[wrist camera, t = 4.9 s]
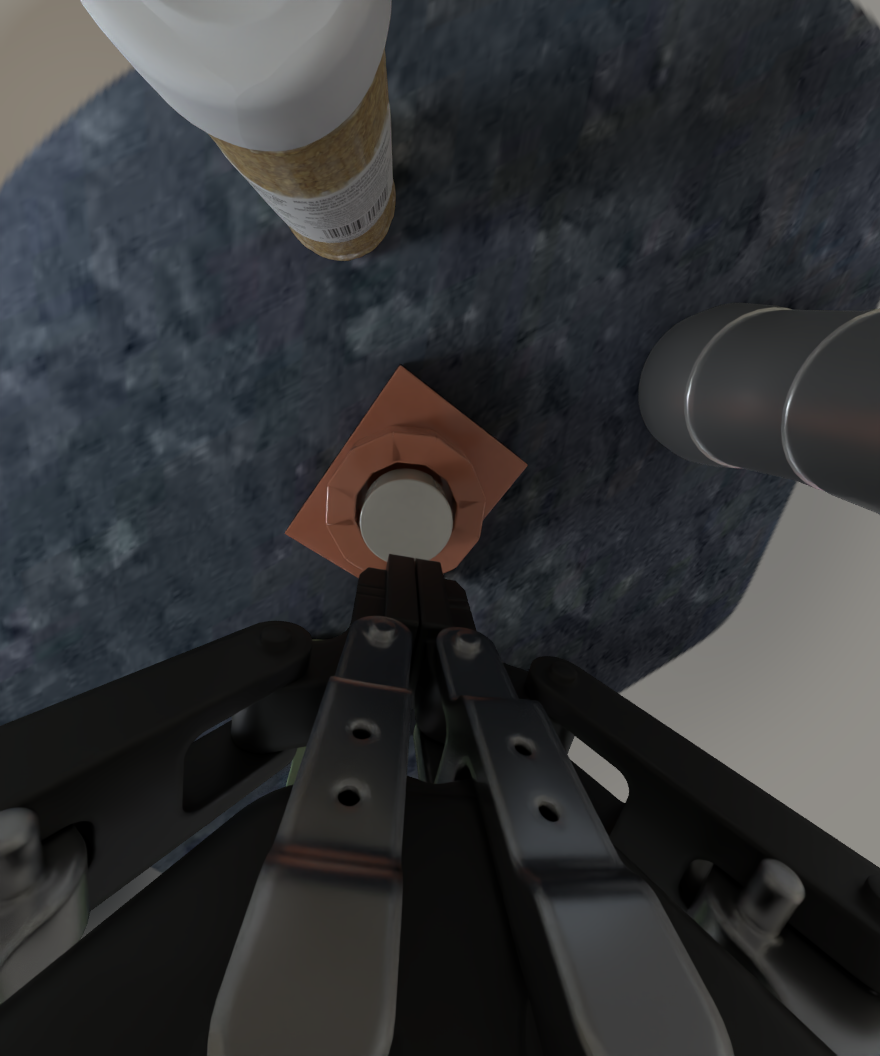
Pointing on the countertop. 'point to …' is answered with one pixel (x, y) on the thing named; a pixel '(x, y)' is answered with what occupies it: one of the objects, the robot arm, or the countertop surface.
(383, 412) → the orange button pad
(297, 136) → the sprinkles bottle
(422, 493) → the push button
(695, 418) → the grey bottle
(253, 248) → the countertop surface
